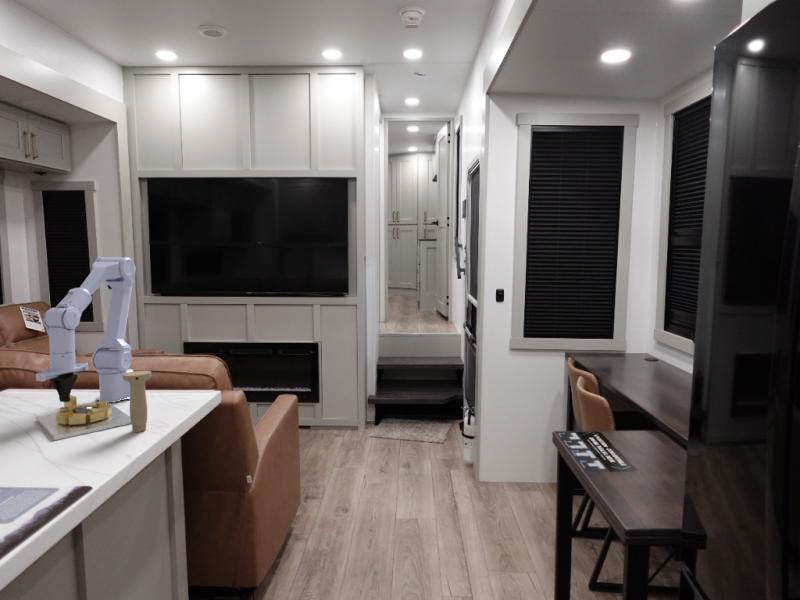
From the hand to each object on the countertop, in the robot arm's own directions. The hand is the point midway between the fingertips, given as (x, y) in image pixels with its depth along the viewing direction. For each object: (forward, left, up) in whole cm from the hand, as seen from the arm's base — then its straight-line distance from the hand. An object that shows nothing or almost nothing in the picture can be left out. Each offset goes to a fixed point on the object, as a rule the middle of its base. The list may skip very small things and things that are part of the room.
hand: (64, 401), depth 136 cm
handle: (-11, +23, -5) cm, 26 cm away
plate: (-3, +6, -5) cm, 8 cm away
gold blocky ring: (-3, +5, -4) cm, 7 cm away
